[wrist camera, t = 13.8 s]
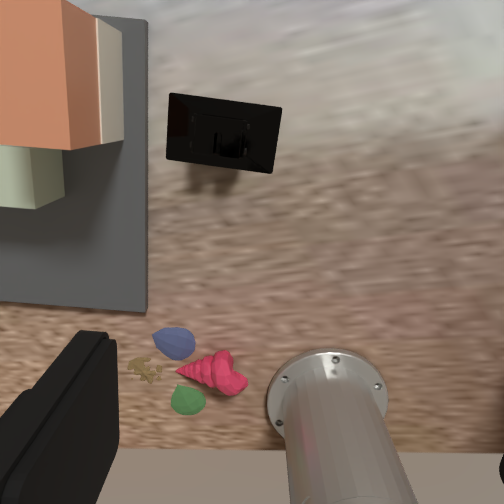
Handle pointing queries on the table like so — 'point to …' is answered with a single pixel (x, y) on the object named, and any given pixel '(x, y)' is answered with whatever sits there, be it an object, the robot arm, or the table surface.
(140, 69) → the baseplate
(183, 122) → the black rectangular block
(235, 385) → the toy pieces
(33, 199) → the sage brick
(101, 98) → the cream brick
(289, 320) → the table surface
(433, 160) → the table surface
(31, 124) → the terracotta brick
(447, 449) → the table surface
